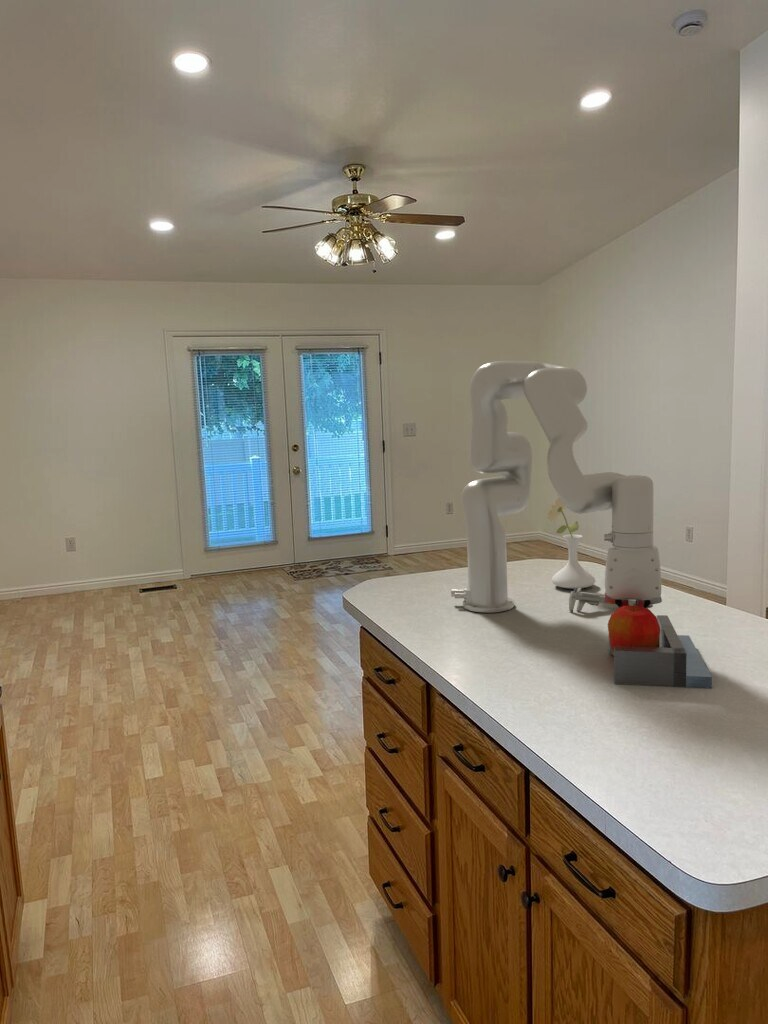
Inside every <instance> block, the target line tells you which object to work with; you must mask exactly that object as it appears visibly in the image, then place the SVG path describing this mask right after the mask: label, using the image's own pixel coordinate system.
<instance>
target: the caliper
mask: <svg viewBox="0 0 768 1024" xmlns="http://www.w3.org/2000/svg"><path fill="white" fill-rule="evenodd" d="M576 601H578V602H577V606H576V613H581V612H582V609H583V608H584V606H585V604H586V603H587V604H588V605H591V606H597V607H598V606H599V604H600V603H601V604H610V605H612V604H611V603H607V602H605V601H604V595H601V594H599V593H594V592H587V591H586V592H585V591H582V588H580V587H579V588H578V589H577V588H576V587H574V589H573V591H572V590H571V591H570V595H569V598H568V610H569V612H570V613H572V614H573V613H574V609H575V604H576ZM628 602H629V605H631V606H633V605H634V604H635V602H636V600H628ZM648 607H654V604H653V605H649V606H648Z"/></svg>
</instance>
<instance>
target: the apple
mask: <svg viewBox="0 0 768 1024" xmlns="http://www.w3.org/2000/svg"><path fill="white" fill-rule="evenodd" d="M607 630H608V631H607V632H608V641H609V640H610V643H611V646H612V649H613V652H614V646H628V647H658V645H659V637H660V626H659V623H658V621H657V615H655V614H654V613H653V611H652V610H650V609H649V608H648V607H647V608H644V607H639V606H635V604H634V605H633V606H631V605H628V606H622V607H620V608H619V607H618V608H617V609H616V610H615V611H613V612H612V613H611V615H610V616H609V619H608V622H607Z"/></svg>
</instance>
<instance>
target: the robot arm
mask: <svg viewBox="0 0 768 1024" xmlns="http://www.w3.org/2000/svg"><path fill="white" fill-rule="evenodd" d="M587 391H588V385H587V382H586V379H585V377H584V375H583V374H582V373H581V372H580V371H579V370H577V369H575V368H573V367H568V366H562V365H559V364H558V365H557V364H553V363H549V362H544V361H539V360H538V361H537V360H496V361H490V362H487V363H485V364H483V365H481V366H479V367H478V368H477V369H476V371H474V373H473V375H472V377H471V379H470V384H469V400H470V401H469V402H470V409H471V410H470V411H471V422H470V441H469V463H470V467H471V469H472V470H473V471H474V472H476V473H479V474H486V475H488V474H496V473H497V474H498V473H499V474H500V476H494V477H487V478H486V477H485V478H480V479H475V480H473V481H471V482H468V483H467V484H466V485H465V486H464V487H463V490H462V491H461V495H460V502H461V503H460V504H461V507H462V512H463V515H464V516H463V517H464V522H465V532H466V533H465V534H466V549H467V553H466V554H467V579H468V580H467V581H468V585H467V587H464V588H463V589H458V588H454V589H453V588H452V589H451V590H450V594H451V597H452V598H454V599H463V601H462V607H463V609H464V610H467V611H470V612H475V613H482V614H483V613H486V614H488V613H489V614H492V613H501V612H506V611H509V610H511V609H513V608H514V606H515V601H514V599H512V598H511V597H509V596H508V595H509V594H508V592H509V591H508V564H507V563H508V560H507V558H508V557H507V553H508V552H507V534H506V530H505V529H504V527H503V524H502V522H501V521H500V519H499V517H502V516H508V515H514V514H518V513H520V512H522V511H523V510H525V508H527V505H528V504H529V499H530V493H531V483H532V482H531V481H532V466H533V450H532V447H531V444H530V441H529V440H528V438H527V437H526V436H525V435H524V434H522V433H520V432H517V431H508V423H509V421H508V420H509V418H508V412H507V409H506V406H505V405H504V403H503V402H502V400H513V399H514V400H515V399H516V400H517V399H518V400H519V399H520V400H521V399H526V401H527V403H528V405H529V406H530V408H531V410H532V412H533V414H534V415H535V417H536V419H537V422H538V423H539V425H540V427H541V429H542V430H543V432H544V434H545V435H546V437H547V440H548V442H549V446H548V450H547V451H548V452H547V459H546V461H547V462H546V463H547V472H548V477H549V479H550V483H551V484H552V487H553V488H554V490H555V492H556V494H557V496H558V498H560V499H561V501H562V502H563V504H564V505H565V507H566V509H568V511H571V512H572V513H574V514H579V515H582V514H591V513H595V512H601V511H609V510H611V531H610V533H604V534H603V535H604V536H603V540H604V542H610V543H611V544H610V545H608V547H607V553H606V559H605V560H606V561H605V570H604V589H605V590H604V591H605V592H604V595H603V596H604V601H605V602H607V603H606V604H608V603H611V604H610V605H616V606H617V607H618V608H620V607H622V606H628V605H629V602H628V600H636V602H635V606H639V607H644V608H648V607H650V606H649V605H653V606H654V605H657V604H661V603H662V602H663V599H662V570H661V560H660V552H659V549H658V547H657V546H656V545H654V482H653V480H652V478H651V477H649V476H646V475H638V474H636V475H634V474H633V475H626V474H621V473H619V472H612V471H611V472H610V471H609V472H606V471H605V472H600V473H597V472H596V473H588V474H583V472H582V471H581V469H580V468H579V466H578V464H577V462H576V459H575V456H574V451H573V449H574V448H573V446H574V444H575V443H576V442H577V441H578V440H579V439H580V438H582V437H583V436H584V434H585V433H586V432H587V430H588V422H587V420H586V419H587V418H585V416H584V415H583V413H582V411H581V409H580V407H579V406H578V405H580V404H581V403H582V402H583V401H584V400H585V398H586V395H587Z"/></svg>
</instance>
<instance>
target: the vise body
mask: <svg viewBox="0 0 768 1024" xmlns="http://www.w3.org/2000/svg"><path fill="white" fill-rule="evenodd" d="M656 618H657V621H658V623H659V626H660V648H659V647H628V646H614V655H613V681H614V684H615V685H625V686H626V685H629V686H631V685H632V686H647V687H649V686H650V687H651V686H653V687H673V688H674V687H675V688H677V687H678V688H694V689H695V688H697V689H713V688H712V687H713V686H712V684H713V680H712V679H713V677H712V675H711V673H710V671H709V669H708V668H707V665H706V663H705V662H704V660H703V658H702V656H701V655H700V653H699V651H698V649H697V647H696V646H695V644H694V643H693V641H692V639H691V636H690V635H687V634H686V635H683V634H678V633H677V631H676V629H675V627H674V625H673V623H672V622H671V619H670V618H669V616H668V615H667V614H666V615H664V614H662V615H659V614H658V615H656Z"/></svg>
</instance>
